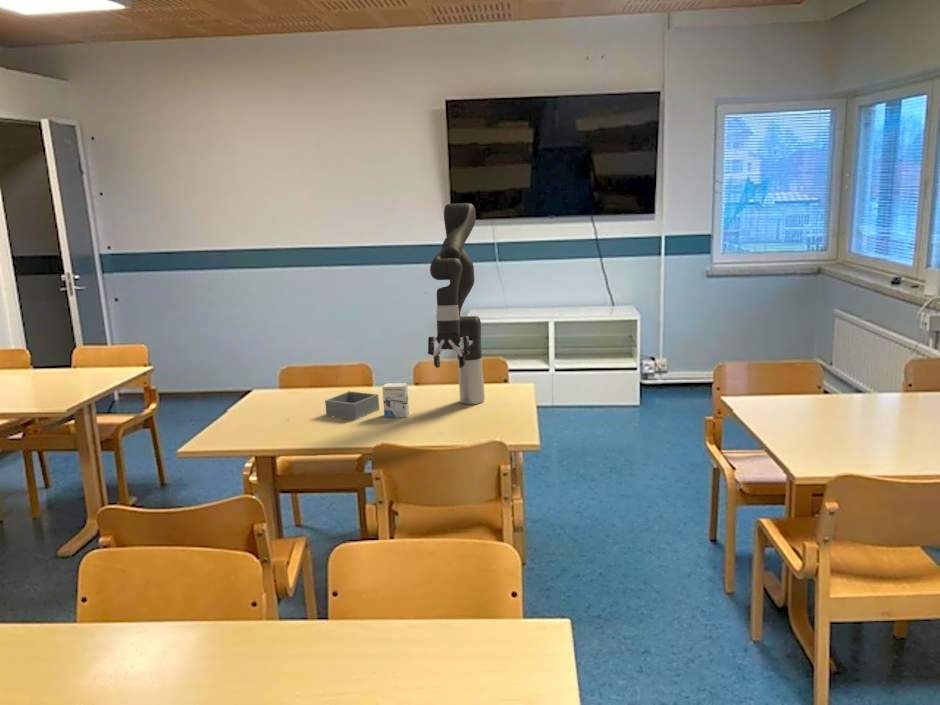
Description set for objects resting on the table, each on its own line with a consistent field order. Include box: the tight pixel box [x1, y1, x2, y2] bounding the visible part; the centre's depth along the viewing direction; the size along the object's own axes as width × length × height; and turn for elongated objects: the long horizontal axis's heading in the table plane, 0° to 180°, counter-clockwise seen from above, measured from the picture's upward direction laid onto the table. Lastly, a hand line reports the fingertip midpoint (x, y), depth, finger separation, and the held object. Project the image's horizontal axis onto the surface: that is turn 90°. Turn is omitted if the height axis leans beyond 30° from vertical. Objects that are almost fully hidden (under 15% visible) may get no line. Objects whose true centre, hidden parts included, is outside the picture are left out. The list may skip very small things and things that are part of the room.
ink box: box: [382, 382, 410, 418], centre depth 268 cm, size 9×5×12 cm, turn 84°
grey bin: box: [324, 390, 380, 420], centre depth 275 cm, size 14×14×6 cm
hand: (449, 367), depth 244 cm, fingers open, 8 cm apart
